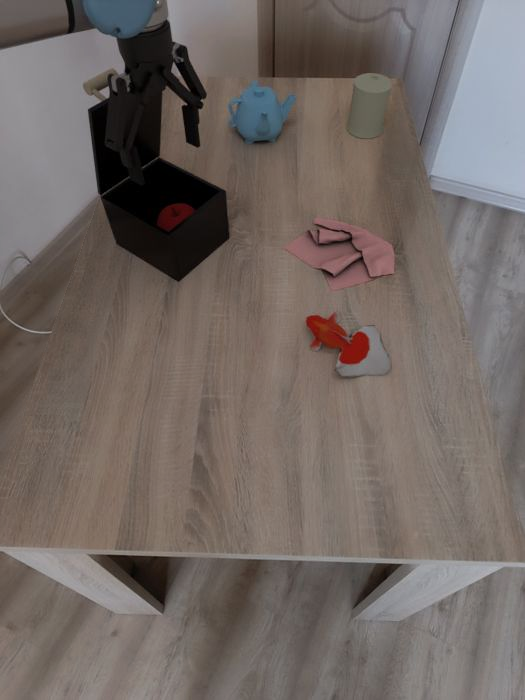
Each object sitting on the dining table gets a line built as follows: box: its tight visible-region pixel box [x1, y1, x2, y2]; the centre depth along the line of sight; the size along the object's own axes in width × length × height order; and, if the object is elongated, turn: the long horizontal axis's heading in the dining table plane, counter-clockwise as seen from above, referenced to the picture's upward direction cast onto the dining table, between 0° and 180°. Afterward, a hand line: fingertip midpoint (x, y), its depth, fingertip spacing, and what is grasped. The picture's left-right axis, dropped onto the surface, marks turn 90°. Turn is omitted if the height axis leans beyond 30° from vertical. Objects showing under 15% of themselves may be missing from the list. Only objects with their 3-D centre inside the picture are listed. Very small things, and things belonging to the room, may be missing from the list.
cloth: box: [283, 217, 396, 292], centre depth 96 cm, size 20×22×2 cm
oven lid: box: [82, 67, 163, 196], centre depth 84 cm, size 18×16×7 cm
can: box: [346, 72, 393, 140], centre depth 117 cm, size 9×9×12 cm
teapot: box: [227, 80, 297, 145], centre depth 116 cm, size 15×14×11 cm
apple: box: [157, 203, 196, 232], centre depth 93 cm, size 9×9×10 cm
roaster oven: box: [100, 156, 230, 283], centre depth 94 cm, size 18×16×12 cm
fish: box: [305, 309, 392, 379], centre depth 79 cm, size 11×16×10 cm
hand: (166, 162), depth 81 cm, fingers open, 13 cm apart
